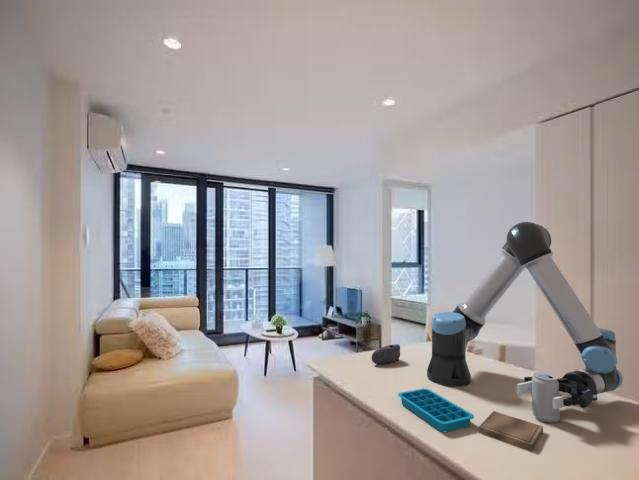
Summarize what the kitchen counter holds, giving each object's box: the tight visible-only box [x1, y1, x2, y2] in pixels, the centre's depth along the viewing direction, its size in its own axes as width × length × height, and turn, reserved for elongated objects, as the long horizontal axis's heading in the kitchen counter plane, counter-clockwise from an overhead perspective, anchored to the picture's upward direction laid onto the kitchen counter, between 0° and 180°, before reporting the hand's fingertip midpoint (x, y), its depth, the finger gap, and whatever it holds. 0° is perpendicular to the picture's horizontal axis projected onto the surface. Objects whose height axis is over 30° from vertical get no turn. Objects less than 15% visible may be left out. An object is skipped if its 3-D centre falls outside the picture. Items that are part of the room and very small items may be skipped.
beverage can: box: [531, 372, 560, 424], centre depth 96 cm, size 6×6×12 cm
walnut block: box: [478, 410, 544, 452], centre depth 89 cm, size 12×12×2 cm
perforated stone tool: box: [371, 343, 401, 365], centre depth 143 cm, size 15×5×7 cm, turn 116°
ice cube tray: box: [397, 387, 475, 433], centre depth 99 cm, size 12×20×3 cm, turn 22°
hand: (535, 396), depth 95 cm, fingers open, 9 cm apart
